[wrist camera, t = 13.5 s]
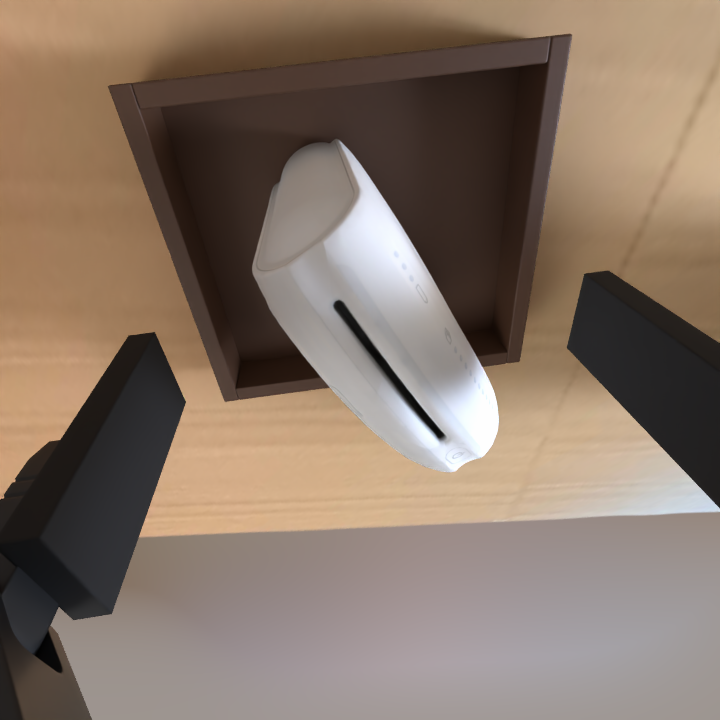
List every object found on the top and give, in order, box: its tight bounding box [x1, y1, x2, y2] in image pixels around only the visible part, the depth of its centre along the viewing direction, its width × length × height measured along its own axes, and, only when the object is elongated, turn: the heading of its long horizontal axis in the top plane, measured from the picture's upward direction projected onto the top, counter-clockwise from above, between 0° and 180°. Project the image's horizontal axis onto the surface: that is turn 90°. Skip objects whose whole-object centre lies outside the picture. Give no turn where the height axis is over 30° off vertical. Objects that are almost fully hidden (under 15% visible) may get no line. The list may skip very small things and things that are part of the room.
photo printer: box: [252, 139, 499, 472], centre depth 16 cm, size 10×4×12 cm, turn 33°
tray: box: [108, 34, 572, 402], centre depth 20 cm, size 17×15×3 cm
